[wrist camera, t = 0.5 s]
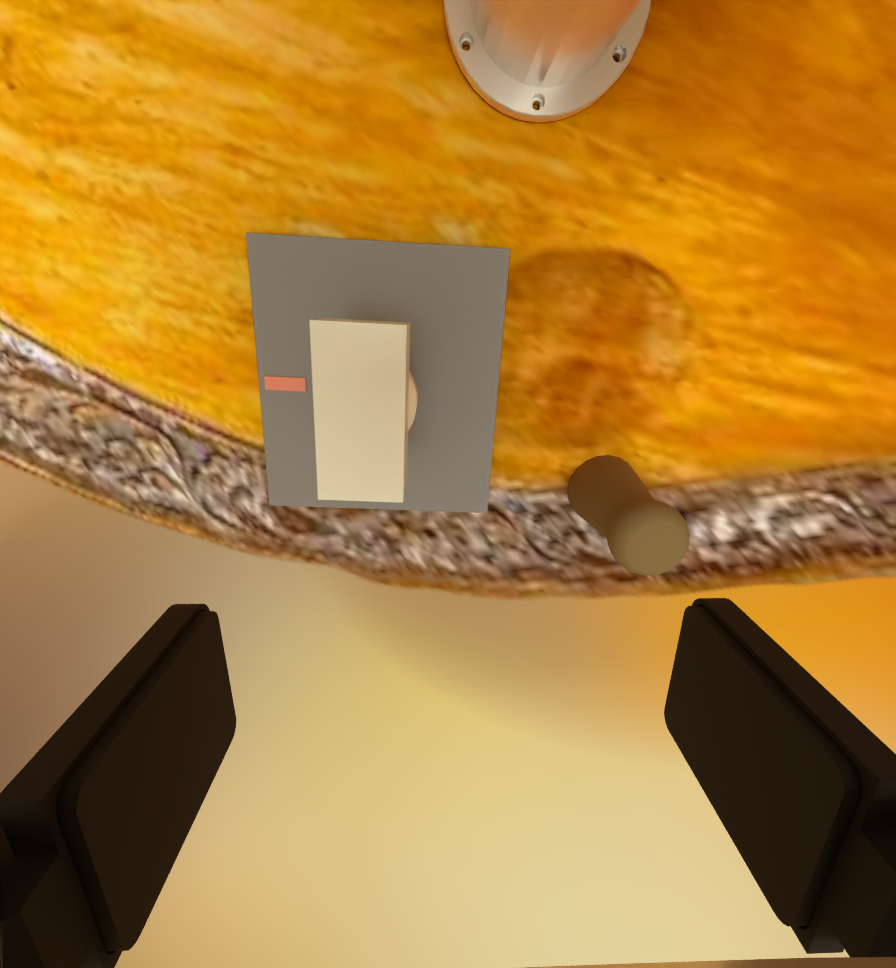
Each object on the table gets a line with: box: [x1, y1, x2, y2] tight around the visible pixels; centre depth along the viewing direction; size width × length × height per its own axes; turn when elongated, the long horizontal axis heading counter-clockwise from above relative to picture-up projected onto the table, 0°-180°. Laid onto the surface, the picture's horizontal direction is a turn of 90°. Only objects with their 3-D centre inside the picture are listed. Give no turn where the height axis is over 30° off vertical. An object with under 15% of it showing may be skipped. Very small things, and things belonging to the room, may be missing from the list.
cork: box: [568, 455, 690, 575], centre depth 36 cm, size 6×6×11 cm
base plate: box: [246, 233, 510, 513], centre depth 35 cm, size 20×18×4 cm
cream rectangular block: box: [309, 318, 418, 503], centre depth 30 cm, size 10×6×7 cm, turn 177°
